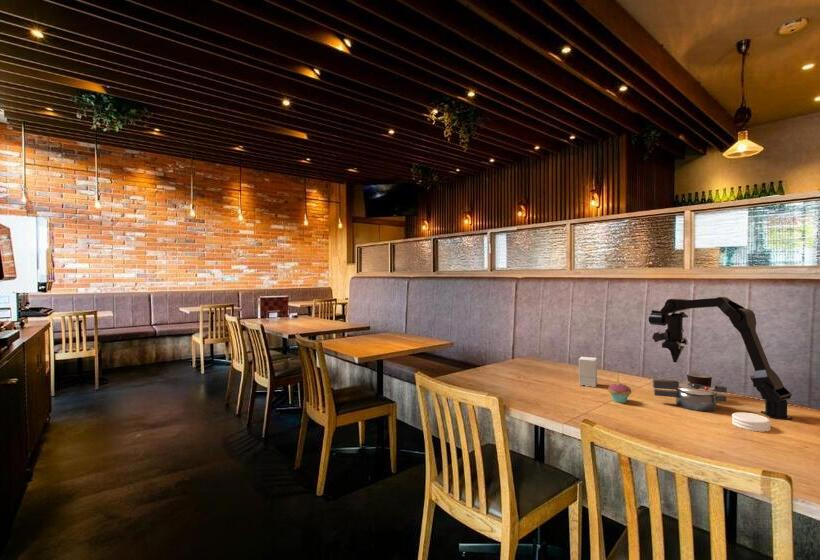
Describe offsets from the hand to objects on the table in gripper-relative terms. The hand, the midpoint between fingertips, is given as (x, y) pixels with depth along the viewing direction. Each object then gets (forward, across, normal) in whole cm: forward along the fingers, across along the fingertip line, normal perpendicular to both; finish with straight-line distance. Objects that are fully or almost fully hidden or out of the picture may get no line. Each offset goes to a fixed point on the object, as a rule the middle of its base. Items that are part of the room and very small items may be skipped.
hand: (675, 362), depth 178 cm
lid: (+7, +19, +8) cm, 22 cm away
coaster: (+13, +31, +28) cm, 44 cm away
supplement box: (+13, +15, -32) cm, 38 cm away
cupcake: (+13, +31, -13) cm, 36 cm away
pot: (+13, +19, +8) cm, 25 cm away
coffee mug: (+13, +4, +10) cm, 17 cm away
